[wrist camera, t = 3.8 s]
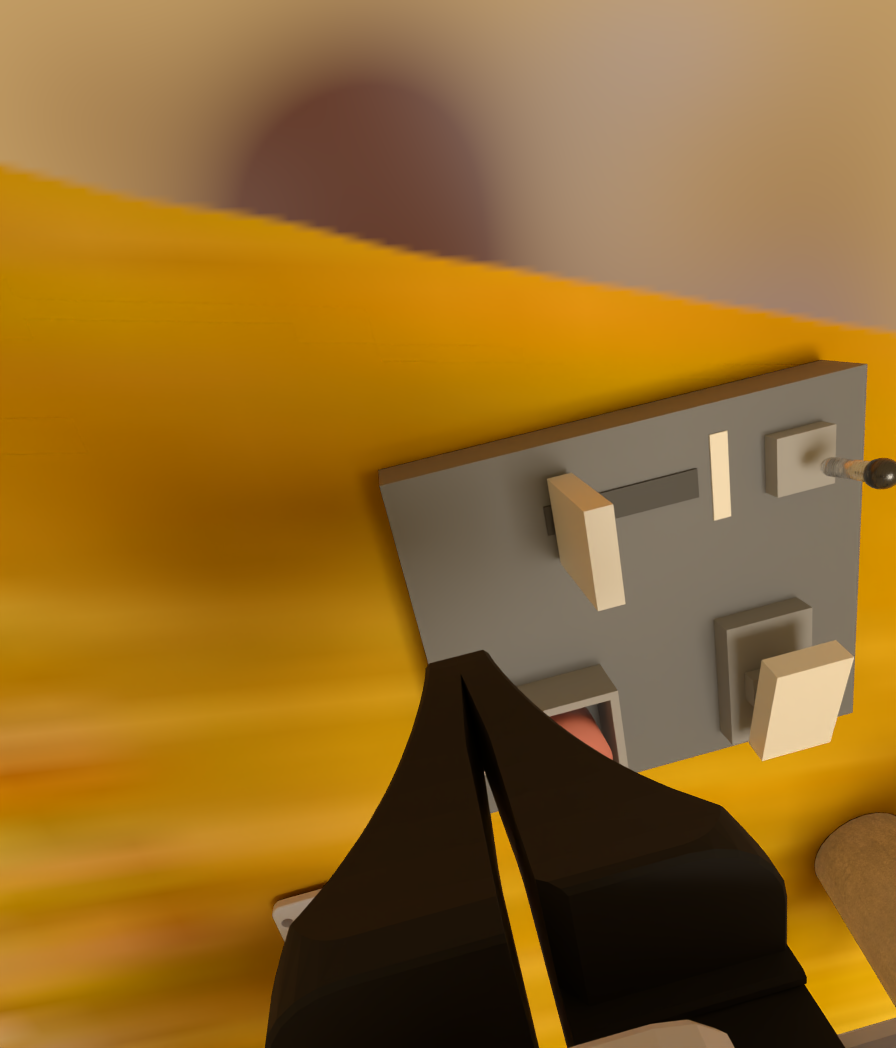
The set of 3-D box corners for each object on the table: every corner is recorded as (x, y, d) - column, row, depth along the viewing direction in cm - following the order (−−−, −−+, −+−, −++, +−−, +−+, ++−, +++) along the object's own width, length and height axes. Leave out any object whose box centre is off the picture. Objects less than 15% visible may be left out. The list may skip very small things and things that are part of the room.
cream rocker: (814, 724, 21) (830, 741, 21) (748, 742, 21) (762, 761, 21) (835, 639, 19) (854, 657, 18) (761, 660, 19) (777, 678, 18)
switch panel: (816, 683, 25) (885, 739, 22) (463, 780, 24) (478, 853, 21) (820, 360, 20) (911, 367, 17) (378, 470, 19) (379, 501, 16)
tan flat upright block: (583, 558, 19) (625, 604, 16) (560, 564, 19) (598, 611, 16) (571, 472, 18) (613, 504, 15) (547, 478, 18) (583, 511, 15)
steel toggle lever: (830, 474, 18) (907, 485, 16) (812, 483, 18) (888, 496, 16) (831, 447, 18) (909, 456, 16) (812, 456, 18) (891, 465, 16)
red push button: (597, 748, 22) (616, 784, 20) (531, 766, 21) (544, 804, 20) (588, 692, 21) (608, 724, 19) (518, 711, 21) (532, 745, 19)
